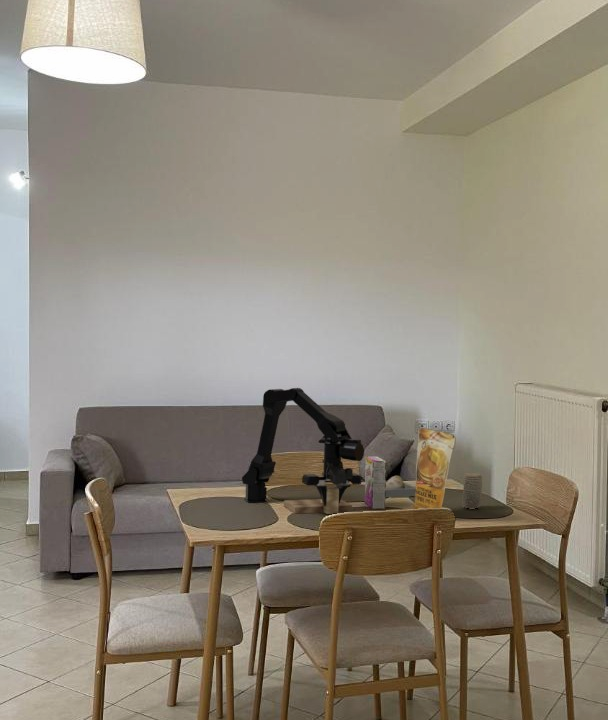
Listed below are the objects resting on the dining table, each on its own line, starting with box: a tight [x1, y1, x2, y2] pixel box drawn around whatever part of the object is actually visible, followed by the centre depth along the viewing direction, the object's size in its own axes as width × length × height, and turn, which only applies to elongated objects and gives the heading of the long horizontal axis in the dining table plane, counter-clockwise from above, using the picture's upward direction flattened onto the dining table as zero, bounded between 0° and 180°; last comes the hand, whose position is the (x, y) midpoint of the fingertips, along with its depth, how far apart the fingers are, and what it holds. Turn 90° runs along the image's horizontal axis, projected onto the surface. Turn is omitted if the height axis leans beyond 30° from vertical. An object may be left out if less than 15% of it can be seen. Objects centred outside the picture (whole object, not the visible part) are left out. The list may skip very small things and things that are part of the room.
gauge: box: [320, 486, 339, 515], centre depth 274 cm, size 4×9×8 cm, turn 19°
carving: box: [461, 472, 483, 509], centre depth 287 cm, size 6×8×12 cm
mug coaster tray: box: [385, 482, 416, 498], centre depth 311 cm, size 15×14×3 cm
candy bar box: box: [364, 455, 387, 510], centre depth 286 cm, size 11×5×16 cm, turn 9°
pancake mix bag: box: [413, 427, 457, 510], centre depth 273 cm, size 7×19×28 cm, turn 23°
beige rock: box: [386, 475, 405, 489], centre depth 309 cm, size 8×10×10 cm
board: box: [283, 498, 353, 515], centre depth 279 cm, size 20×12×2 cm, turn 109°
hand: (331, 505), depth 272 cm, fingers closed on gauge, 4 cm apart
